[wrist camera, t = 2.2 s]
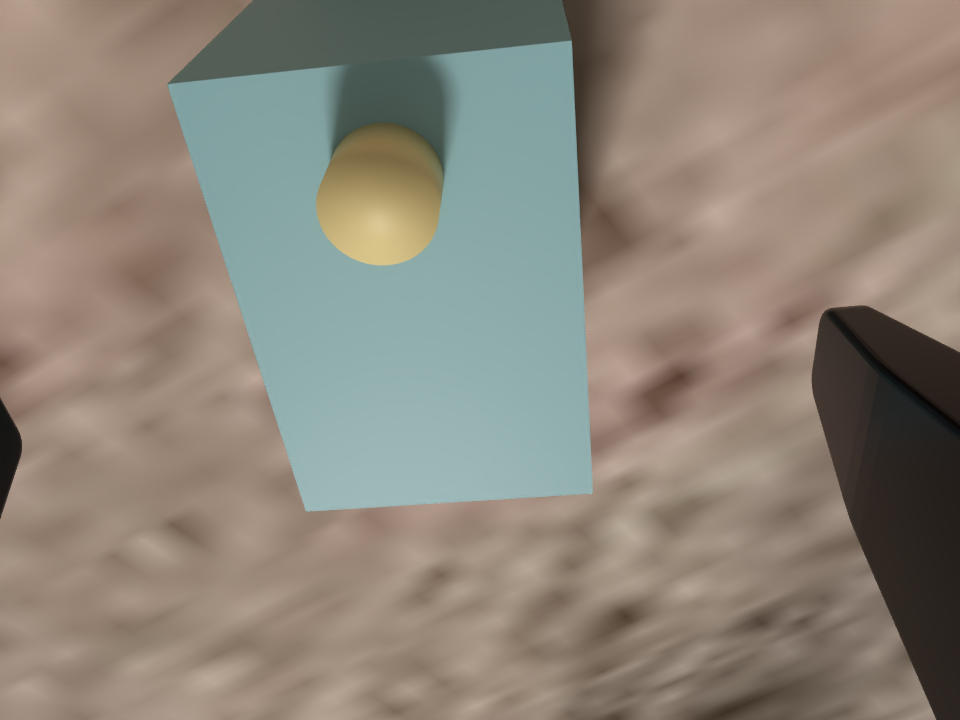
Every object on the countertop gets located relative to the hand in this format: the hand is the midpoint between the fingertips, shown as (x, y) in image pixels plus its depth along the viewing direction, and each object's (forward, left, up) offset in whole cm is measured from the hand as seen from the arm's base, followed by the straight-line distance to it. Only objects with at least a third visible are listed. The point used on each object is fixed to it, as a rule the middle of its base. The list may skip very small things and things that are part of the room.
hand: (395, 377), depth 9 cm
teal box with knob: (0, 0, -7) cm, 7 cm away
